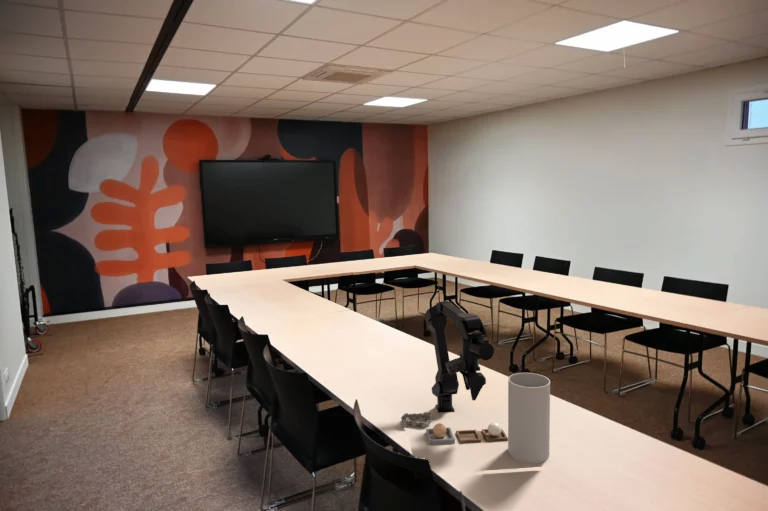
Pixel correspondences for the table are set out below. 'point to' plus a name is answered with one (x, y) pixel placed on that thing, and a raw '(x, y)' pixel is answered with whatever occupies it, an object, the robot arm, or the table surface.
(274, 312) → the table surface
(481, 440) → the rack
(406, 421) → the egg carton
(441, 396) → the robot arm
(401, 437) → the table surface
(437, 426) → the egg brown
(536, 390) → the cylinder vase
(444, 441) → the dish
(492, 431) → the white smooth ball
